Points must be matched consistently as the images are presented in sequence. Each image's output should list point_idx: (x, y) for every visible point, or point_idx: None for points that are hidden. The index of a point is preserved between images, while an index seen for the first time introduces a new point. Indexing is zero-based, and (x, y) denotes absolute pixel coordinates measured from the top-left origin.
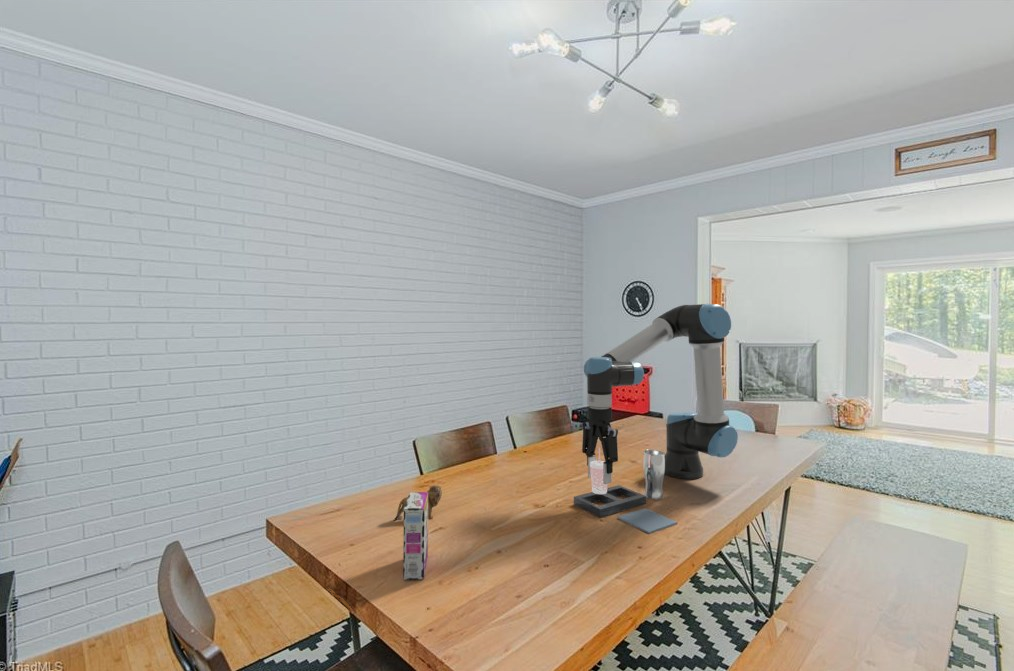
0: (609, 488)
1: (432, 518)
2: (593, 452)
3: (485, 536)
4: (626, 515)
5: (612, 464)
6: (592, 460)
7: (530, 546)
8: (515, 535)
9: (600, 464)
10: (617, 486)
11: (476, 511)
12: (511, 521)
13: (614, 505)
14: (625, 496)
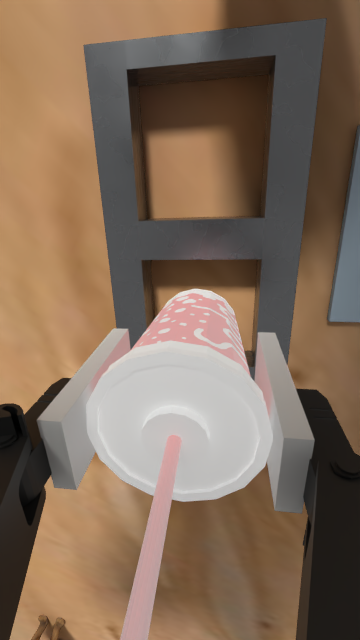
0: (107, 154)
1: (63, 620)
2: (22, 472)
3: (191, 607)
4: (350, 281)
5: (353, 452)
6: (84, 434)
7: (289, 586)
8: (223, 576)
9: (205, 449)
10: (100, 76)
11: (62, 560)
12: None
13: (293, 304)
14: (170, 82)
